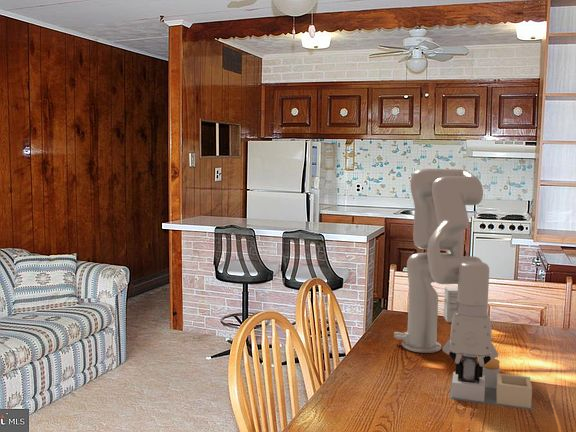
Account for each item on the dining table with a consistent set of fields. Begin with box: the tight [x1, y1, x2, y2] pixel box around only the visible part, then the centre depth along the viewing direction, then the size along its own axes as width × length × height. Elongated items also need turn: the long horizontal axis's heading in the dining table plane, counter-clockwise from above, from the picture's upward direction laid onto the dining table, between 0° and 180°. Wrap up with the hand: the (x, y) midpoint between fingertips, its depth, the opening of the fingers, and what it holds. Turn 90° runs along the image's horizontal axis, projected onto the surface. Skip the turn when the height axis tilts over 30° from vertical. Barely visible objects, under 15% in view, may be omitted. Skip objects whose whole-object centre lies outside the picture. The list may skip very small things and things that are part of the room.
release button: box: [483, 358, 500, 369], centre depth 161 cm, size 4×4×6 cm
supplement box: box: [443, 286, 458, 324], centre depth 229 cm, size 7×7×13 cm
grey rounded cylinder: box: [461, 354, 479, 383], centre depth 154 cm, size 4×4×10 cm
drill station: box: [448, 365, 534, 411], centre depth 156 cm, size 20×16×6 cm
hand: (468, 377), depth 154 cm, fingers closed on grey rounded cylinder, 4 cm apart
